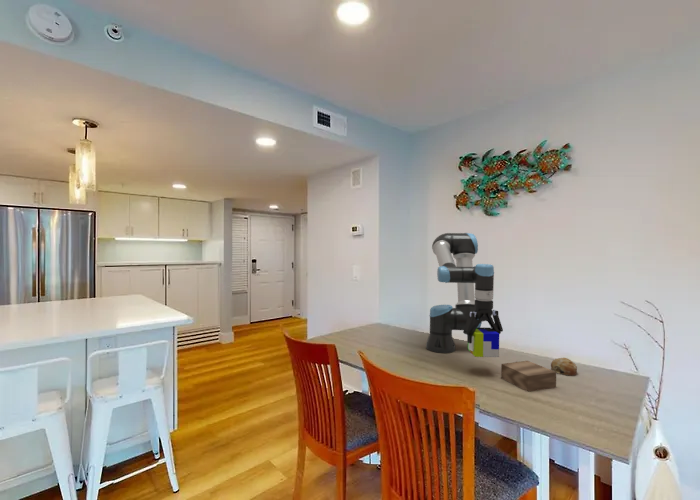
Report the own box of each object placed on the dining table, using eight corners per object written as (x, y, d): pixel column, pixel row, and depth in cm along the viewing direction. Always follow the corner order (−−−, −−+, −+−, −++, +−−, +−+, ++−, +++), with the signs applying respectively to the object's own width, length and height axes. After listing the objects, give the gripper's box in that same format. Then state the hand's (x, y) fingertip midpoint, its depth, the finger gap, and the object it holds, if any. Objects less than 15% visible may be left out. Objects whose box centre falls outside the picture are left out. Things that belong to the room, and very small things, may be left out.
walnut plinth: (501, 378, 143) (501, 363, 143) (527, 374, 148) (527, 360, 148) (528, 391, 130) (528, 375, 130) (556, 387, 134) (556, 372, 134)
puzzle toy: (498, 357, 144) (499, 333, 144) (475, 356, 145) (475, 333, 144) (489, 349, 154) (490, 327, 154) (467, 349, 154) (467, 327, 154)
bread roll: (549, 378, 153) (547, 364, 150) (554, 363, 159) (552, 350, 157) (575, 384, 146) (574, 370, 143) (579, 369, 153) (578, 354, 150)
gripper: (466, 302, 141) (465, 354, 142) (512, 299, 149) (511, 349, 149) (455, 299, 148) (454, 348, 149) (500, 296, 156) (499, 343, 156)
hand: (482, 349), depth 149 cm, fingers closed on puzzle toy, 12 cm apart
